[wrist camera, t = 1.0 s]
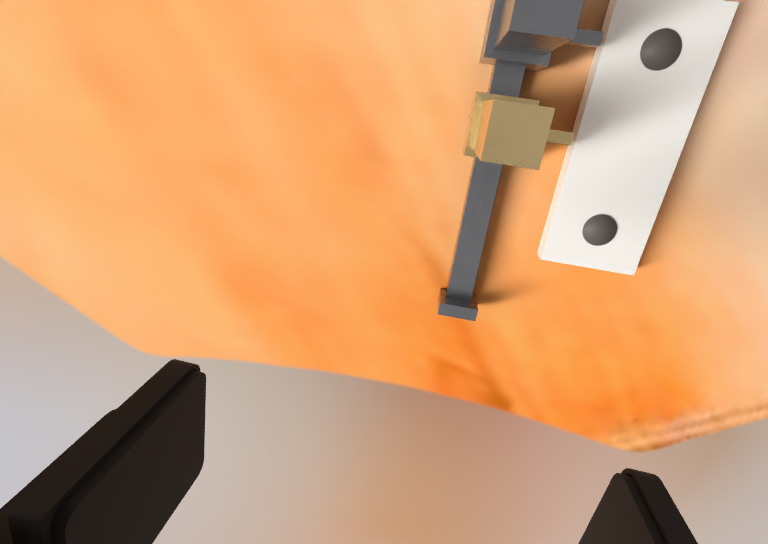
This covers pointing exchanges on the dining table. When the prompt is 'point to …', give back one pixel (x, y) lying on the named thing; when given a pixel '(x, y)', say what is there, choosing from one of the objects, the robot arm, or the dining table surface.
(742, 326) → the dining table surface
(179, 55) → the dining table surface
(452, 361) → the dining table surface
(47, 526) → the robot arm
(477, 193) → the rail
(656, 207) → the hole plate
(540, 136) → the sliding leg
